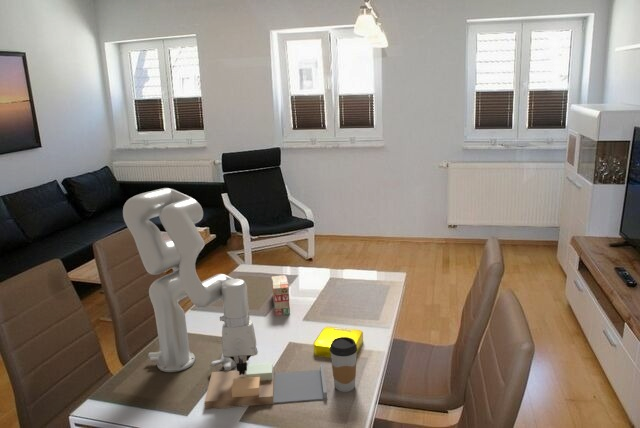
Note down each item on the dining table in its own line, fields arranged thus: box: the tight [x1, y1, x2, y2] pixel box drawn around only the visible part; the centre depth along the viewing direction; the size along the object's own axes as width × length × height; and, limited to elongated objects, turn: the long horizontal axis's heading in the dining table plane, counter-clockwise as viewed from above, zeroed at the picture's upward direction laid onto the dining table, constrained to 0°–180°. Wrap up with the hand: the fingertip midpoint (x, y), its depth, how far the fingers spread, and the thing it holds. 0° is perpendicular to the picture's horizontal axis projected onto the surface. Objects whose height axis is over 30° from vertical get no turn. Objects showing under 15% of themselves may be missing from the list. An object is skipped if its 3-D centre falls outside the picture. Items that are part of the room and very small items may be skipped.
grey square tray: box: [272, 363, 328, 405], centre depth 162 cm, size 16×16×2 cm
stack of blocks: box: [271, 274, 291, 317], centre depth 221 cm, size 21×6×12 cm, turn 8°
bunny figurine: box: [209, 352, 250, 371], centre depth 176 cm, size 10×5×15 cm
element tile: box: [313, 326, 364, 359], centre depth 184 cm, size 15×15×5 cm
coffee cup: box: [330, 337, 357, 393], centre depth 159 cm, size 8×8×15 cm
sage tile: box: [246, 362, 274, 381], centre depth 164 cm, size 8×6×2 cm
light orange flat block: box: [232, 377, 260, 397], centre depth 156 cm, size 8×6×2 cm
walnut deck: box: [204, 367, 275, 410], centre depth 161 cm, size 20×16×2 cm
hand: (242, 372), depth 164 cm, fingers closed
